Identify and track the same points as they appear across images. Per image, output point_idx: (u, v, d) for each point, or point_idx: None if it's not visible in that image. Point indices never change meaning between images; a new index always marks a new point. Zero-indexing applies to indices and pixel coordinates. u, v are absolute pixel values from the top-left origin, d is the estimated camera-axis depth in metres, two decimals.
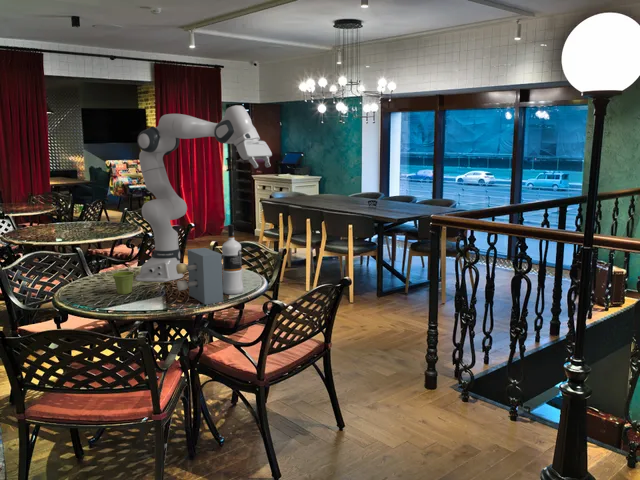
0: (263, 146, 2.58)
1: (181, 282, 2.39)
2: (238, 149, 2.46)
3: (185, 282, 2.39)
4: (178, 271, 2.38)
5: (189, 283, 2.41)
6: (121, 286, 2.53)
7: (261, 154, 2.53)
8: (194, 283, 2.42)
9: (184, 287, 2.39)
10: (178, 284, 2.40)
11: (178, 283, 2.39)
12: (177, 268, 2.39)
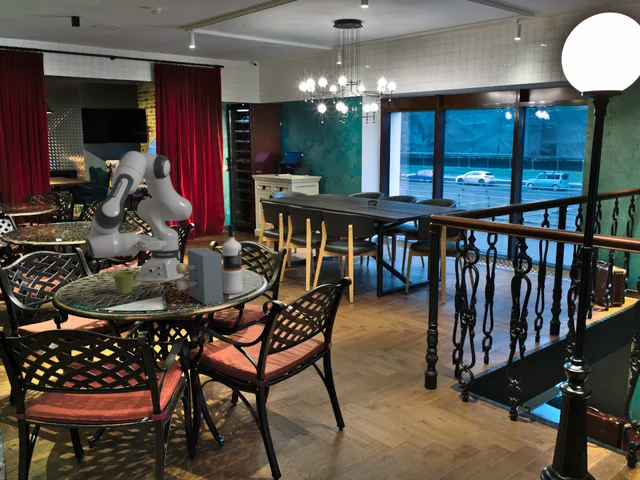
0: None
1: (181, 282, 2.39)
2: None
3: (185, 282, 2.39)
4: (178, 271, 2.38)
5: (189, 283, 2.41)
6: (121, 286, 2.53)
7: None
8: (194, 283, 2.42)
9: (184, 287, 2.39)
10: (178, 284, 2.40)
11: (178, 283, 2.39)
12: (177, 268, 2.39)
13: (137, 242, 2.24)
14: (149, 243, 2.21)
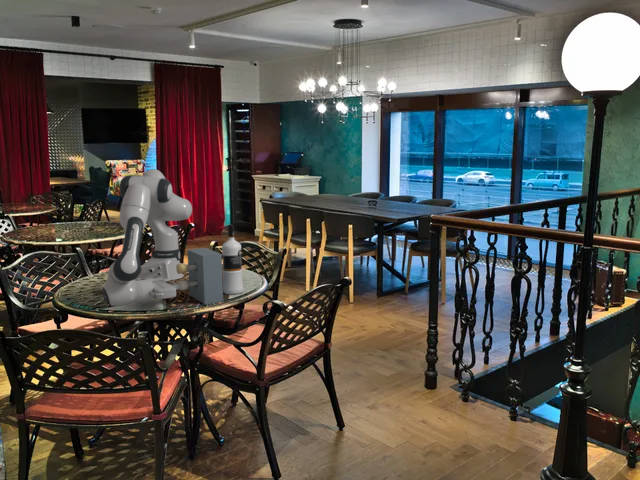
0: None
1: (182, 282, 2.39)
2: None
3: (186, 282, 2.40)
4: (178, 271, 2.38)
5: (190, 283, 2.41)
6: None
7: None
8: (195, 283, 2.42)
9: (185, 287, 2.39)
10: None
11: (179, 283, 2.40)
12: (177, 268, 2.39)
13: (152, 289, 2.30)
14: (164, 291, 2.27)
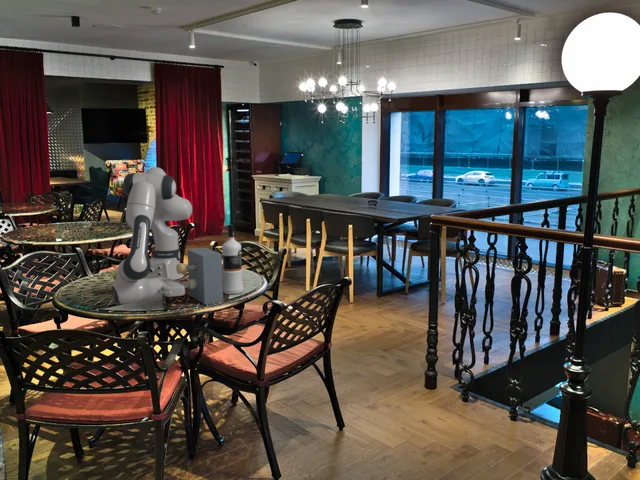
0: None
1: (192, 281, 2.41)
2: None
3: (195, 281, 2.42)
4: (178, 271, 2.38)
5: None
6: None
7: None
8: None
9: (195, 286, 2.41)
10: (189, 282, 2.42)
11: (189, 282, 2.42)
12: (177, 268, 2.39)
13: (161, 288, 2.31)
14: (173, 289, 2.28)
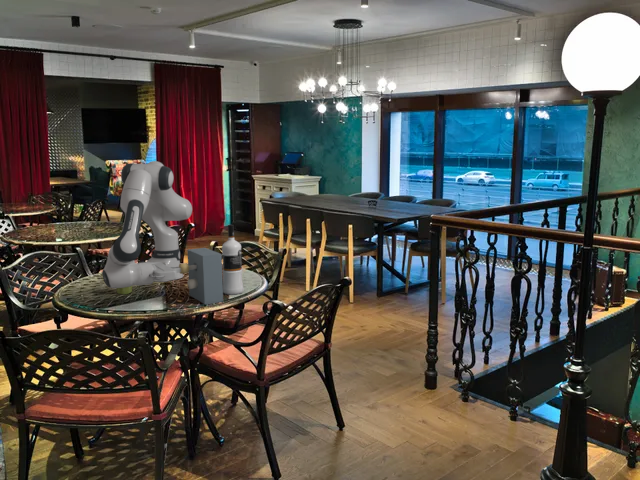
0: None
1: (192, 281, 2.41)
2: None
3: (195, 281, 2.42)
4: None
5: None
6: None
7: None
8: None
9: (195, 286, 2.41)
10: (189, 282, 2.42)
11: (189, 282, 2.42)
12: None
13: (152, 272, 2.29)
14: (164, 273, 2.26)
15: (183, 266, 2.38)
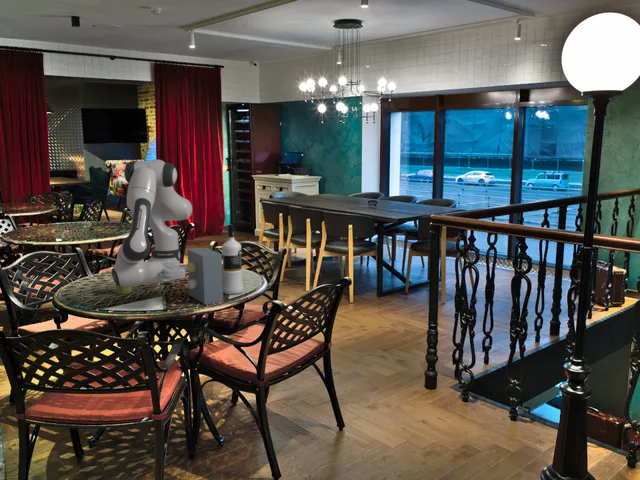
0: None
1: (192, 281, 2.41)
2: None
3: (195, 281, 2.42)
4: (189, 270, 2.40)
5: None
6: (121, 286, 2.53)
7: None
8: None
9: (195, 286, 2.41)
10: (189, 282, 2.42)
11: (189, 282, 2.42)
12: None
13: (161, 271, 2.31)
14: (173, 272, 2.28)
15: (191, 265, 2.40)
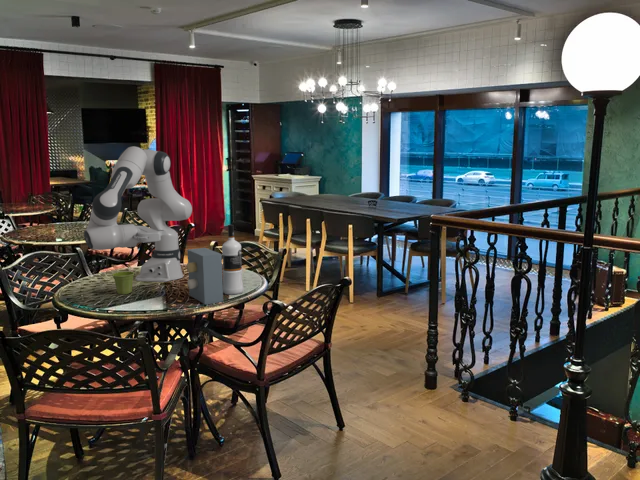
0: None
1: (192, 281, 2.41)
2: None
3: (195, 281, 2.42)
4: (189, 270, 2.40)
5: None
6: (121, 286, 2.53)
7: None
8: None
9: (195, 286, 2.41)
10: (189, 282, 2.42)
11: (189, 282, 2.42)
12: (188, 267, 2.41)
13: (136, 234, 2.23)
14: (148, 235, 2.20)
15: (191, 265, 2.40)
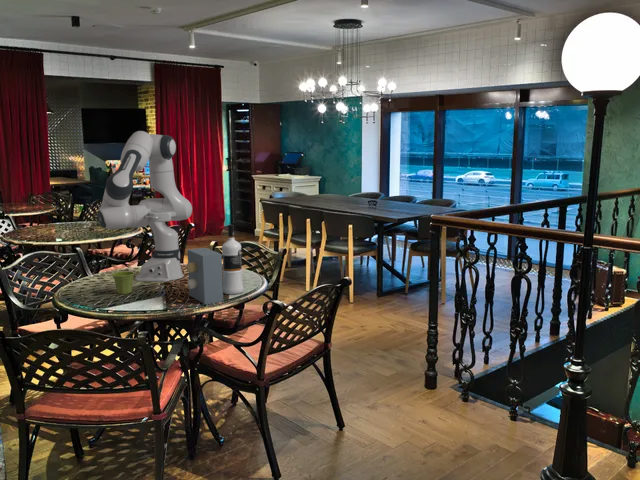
0: None
1: (192, 281, 2.41)
2: None
3: (195, 281, 2.42)
4: (189, 270, 2.40)
5: None
6: (121, 286, 2.53)
7: None
8: None
9: (195, 286, 2.41)
10: (189, 282, 2.42)
11: (189, 282, 2.42)
12: (188, 267, 2.41)
13: (147, 214, 2.32)
14: (159, 214, 2.29)
15: (191, 265, 2.40)
